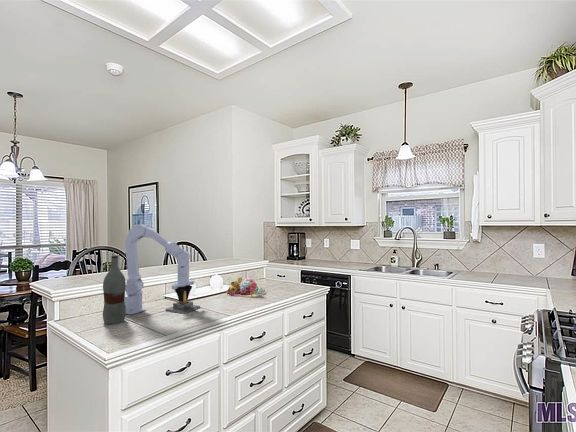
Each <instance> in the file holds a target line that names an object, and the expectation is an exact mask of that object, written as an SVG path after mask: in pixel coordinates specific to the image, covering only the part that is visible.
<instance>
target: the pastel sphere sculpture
mask: <svg viewBox="0 0 576 432" xmlns="http://www.w3.org/2000/svg"><path fill="white" fill-rule="evenodd" d="M229 284H230V285H229V287H228V289H227V290H226V295H229V296H234V297H240V298H256V297H262V296H263V295H264V296H265V294H266V293H267V292H266V288H264V289H263V287H261V285H258V284H257V283H256V282H255V281H254V279H253V278H251V277H249V278H246V279H244V280H243V277H240V276H239V277H237V280H232V281H231V282H230V283H229Z"/></svg>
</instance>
